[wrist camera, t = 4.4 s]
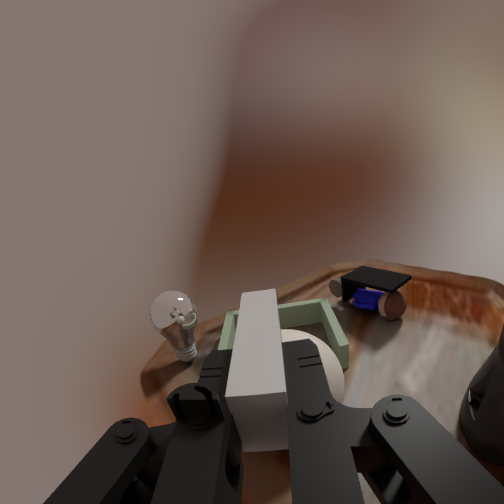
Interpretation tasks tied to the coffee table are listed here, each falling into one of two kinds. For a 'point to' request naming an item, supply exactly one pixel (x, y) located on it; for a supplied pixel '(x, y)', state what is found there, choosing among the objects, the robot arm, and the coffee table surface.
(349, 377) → the coffee table surface
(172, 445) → the robot arm
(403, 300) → the figurine character
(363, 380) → the coffee table surface
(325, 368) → the ball
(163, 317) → the light bulb
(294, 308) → the green u-shaped channel
